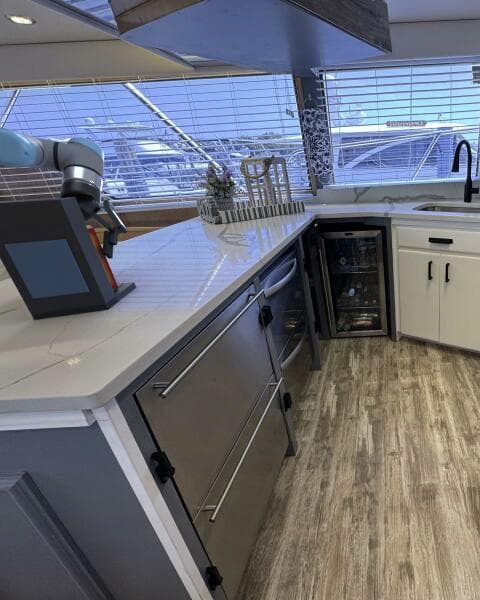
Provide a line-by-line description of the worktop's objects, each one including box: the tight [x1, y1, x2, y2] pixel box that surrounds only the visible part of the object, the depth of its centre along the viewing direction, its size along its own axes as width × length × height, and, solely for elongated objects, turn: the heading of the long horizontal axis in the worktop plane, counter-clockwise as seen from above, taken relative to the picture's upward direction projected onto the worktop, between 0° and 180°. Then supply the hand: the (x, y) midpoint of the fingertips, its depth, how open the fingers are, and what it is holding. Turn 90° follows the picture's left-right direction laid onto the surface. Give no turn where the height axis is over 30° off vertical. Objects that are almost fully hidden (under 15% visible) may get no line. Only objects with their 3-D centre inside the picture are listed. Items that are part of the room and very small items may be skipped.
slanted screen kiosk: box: [0, 197, 137, 321], centre depth 76 cm, size 14×16×25 cm
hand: (73, 259), depth 77 cm, fingers open, 13 cm apart
